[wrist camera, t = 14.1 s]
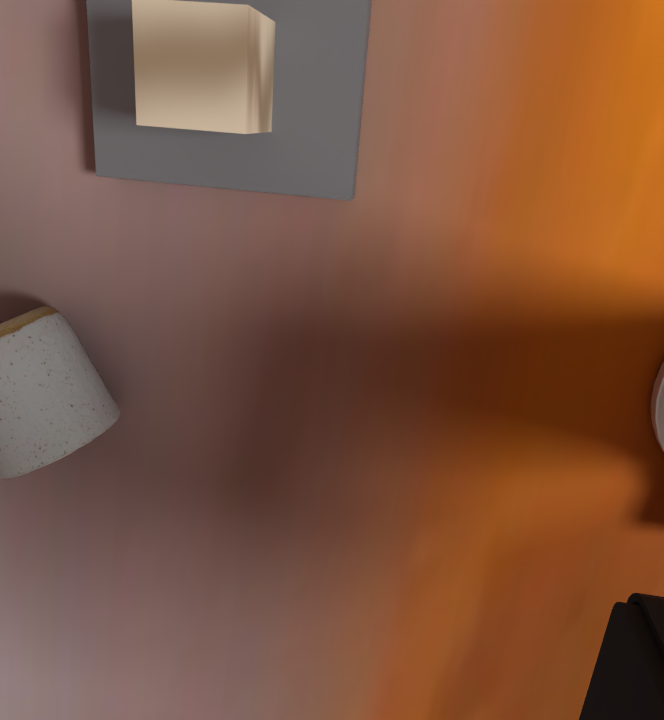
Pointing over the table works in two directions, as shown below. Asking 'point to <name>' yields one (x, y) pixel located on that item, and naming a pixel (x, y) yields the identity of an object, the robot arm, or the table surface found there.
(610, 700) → the robot arm
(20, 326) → the ceramic mug
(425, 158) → the table surface
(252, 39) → the beech cube
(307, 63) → the serving board
